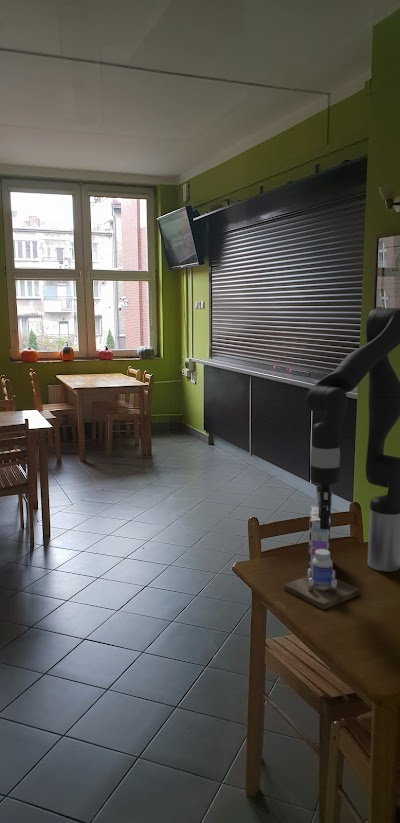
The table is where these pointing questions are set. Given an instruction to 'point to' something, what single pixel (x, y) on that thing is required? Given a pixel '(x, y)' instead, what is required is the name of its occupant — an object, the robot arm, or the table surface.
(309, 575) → the steel pegs
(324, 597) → the peg board
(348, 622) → the table surface
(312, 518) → the candy box
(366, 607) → the table surface
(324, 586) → the pill bottle
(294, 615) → the table surface
